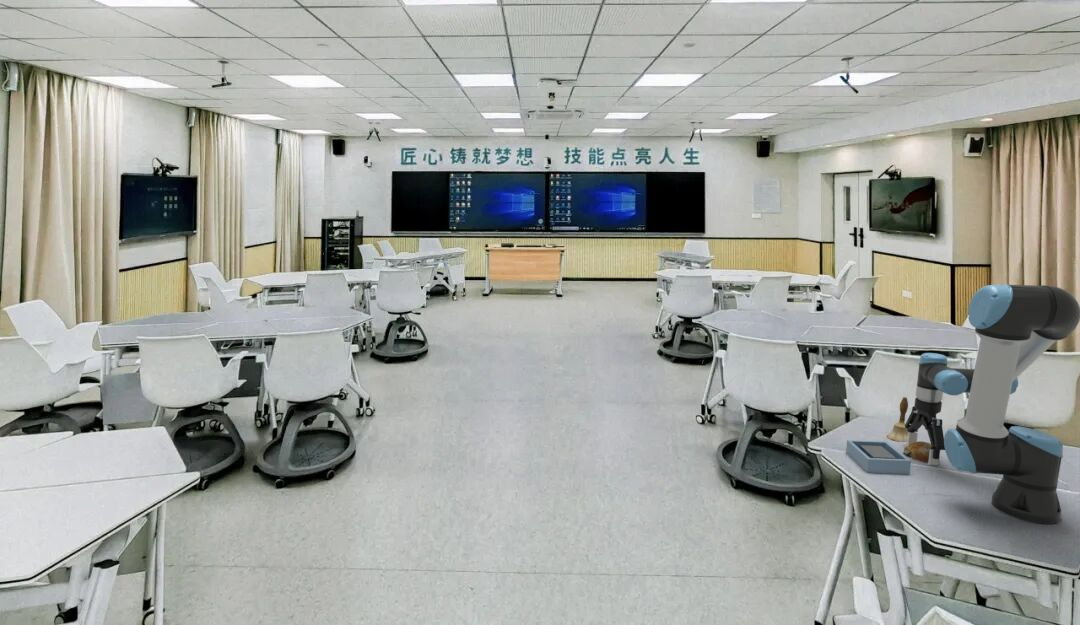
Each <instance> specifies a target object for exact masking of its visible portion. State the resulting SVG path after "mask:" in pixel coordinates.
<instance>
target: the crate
mask: <svg viewBox="0 0 1080 625" xmlns="http://www.w3.org/2000/svg"><path fill="white" fill-rule="evenodd" d="M860 445H869V446H882V447H883V448H885V449H886V450H887V451H888V452H889V453H891V454H892V455H893V456H894V457H896V459H881V458H869V457H868V456H867V455H866V454H865V453H864V452H863V451H862V450H861V449H860ZM845 453H846V454H847V455H848V456H849V457H850V458H851V459H852V461H855V463H856V464H857V465H858V466H859V467H860V468H861V469H863V470H864V471H865V473H869V474H889V475H891V474H893V475H896V474H897V475H911V474H910V473H911V466H912V460H911V459H910V458H908V456H907V455H905V454H903V453H902V452H900V450H898V449H897V448H895V447H894V446H893V445H892V444H890V443H889V442H888V441H885V440H883V441H881V440H857V439H856V440H855V439H854V440H853V439H847V440H846V450H845Z"/></svg>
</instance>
